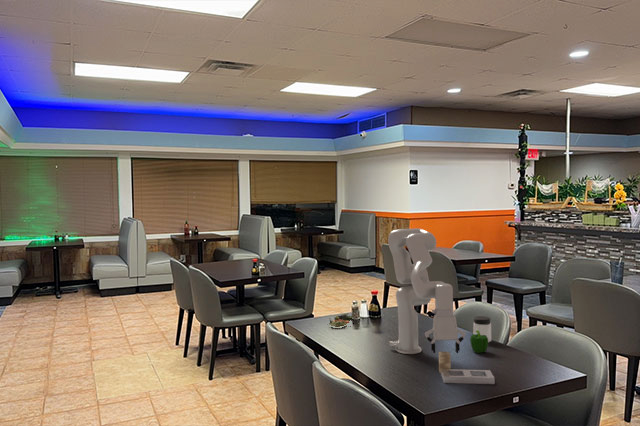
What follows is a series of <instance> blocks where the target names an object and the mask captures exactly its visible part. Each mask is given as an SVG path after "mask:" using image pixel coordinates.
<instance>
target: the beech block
mask: <svg viewBox="0 0 640 426" xmlns="http://www.w3.org/2000/svg"><path fill="white" fill-rule="evenodd" d="M451 359H452V357H451V353H450V351H438V372H439V373H440V374H441V369H451V368H452V365H451V364H452V363H451V361H452V360H451Z"/></svg>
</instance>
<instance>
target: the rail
mask: <svg viewBox="0 0 640 426" xmlns="http://www.w3.org/2000/svg"><path fill="white" fill-rule="evenodd" d="M440 376H441V378H442V382H443V384H446V383H447V384H481V385H495V384H496V382H495V376H494V375H493V373H492V371H491V370H490V369H457V368H456V369H441V373H440Z"/></svg>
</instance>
